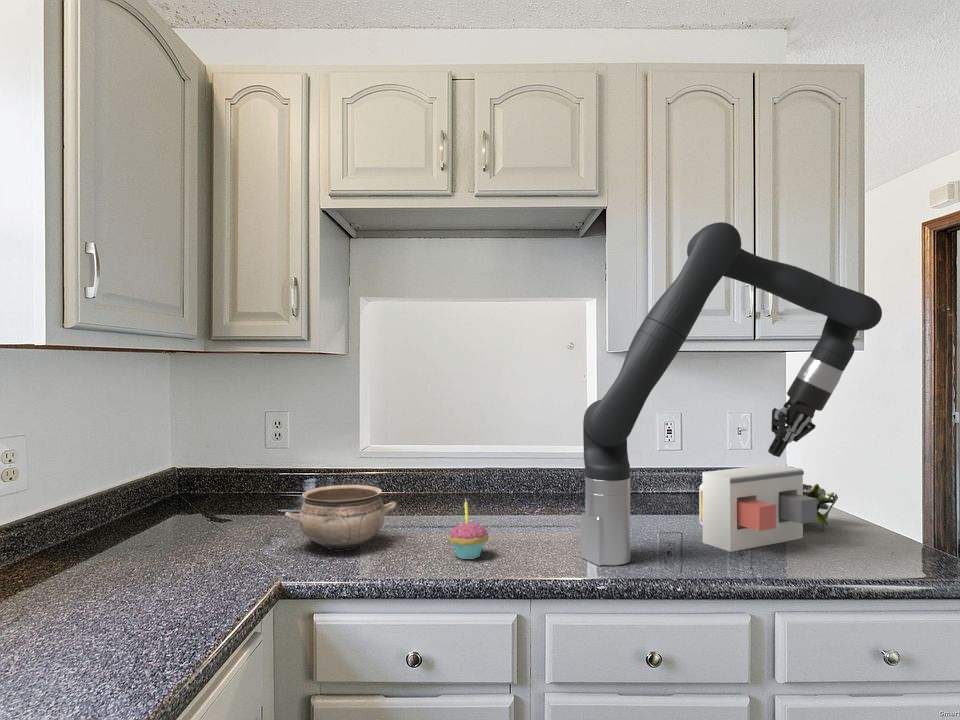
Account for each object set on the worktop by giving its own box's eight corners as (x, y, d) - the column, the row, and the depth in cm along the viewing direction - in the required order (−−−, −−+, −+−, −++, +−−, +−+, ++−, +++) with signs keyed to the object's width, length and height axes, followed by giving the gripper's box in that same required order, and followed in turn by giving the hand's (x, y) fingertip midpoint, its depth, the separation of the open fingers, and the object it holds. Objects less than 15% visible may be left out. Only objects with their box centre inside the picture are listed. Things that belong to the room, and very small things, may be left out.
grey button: (801, 523, 145) (801, 500, 145) (778, 517, 150) (778, 495, 150) (816, 521, 147) (816, 498, 147) (793, 515, 152) (793, 493, 152)
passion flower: (802, 546, 167) (821, 500, 171) (839, 551, 156) (858, 501, 160) (763, 520, 166) (783, 473, 170) (797, 522, 154) (818, 473, 158)
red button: (759, 531, 139) (759, 507, 139) (736, 524, 144) (736, 501, 144) (776, 528, 141) (775, 504, 141) (753, 521, 146) (753, 499, 146)
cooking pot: (385, 530, 162) (385, 480, 162) (408, 550, 145) (408, 495, 145) (280, 542, 153) (279, 489, 152) (291, 566, 135) (290, 506, 135)
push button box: (731, 552, 142) (731, 478, 142) (702, 542, 150) (702, 472, 150) (804, 538, 153) (803, 469, 153) (773, 530, 160) (773, 464, 160)
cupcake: (443, 553, 143) (443, 498, 143) (480, 549, 146) (480, 494, 146) (456, 565, 135) (456, 506, 135) (495, 560, 138) (494, 502, 138)
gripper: (811, 383, 132) (768, 457, 135) (847, 398, 138) (805, 469, 142) (782, 368, 138) (741, 440, 141) (817, 383, 145) (777, 451, 148)
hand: (773, 454), depth 142 cm, fingers closed
